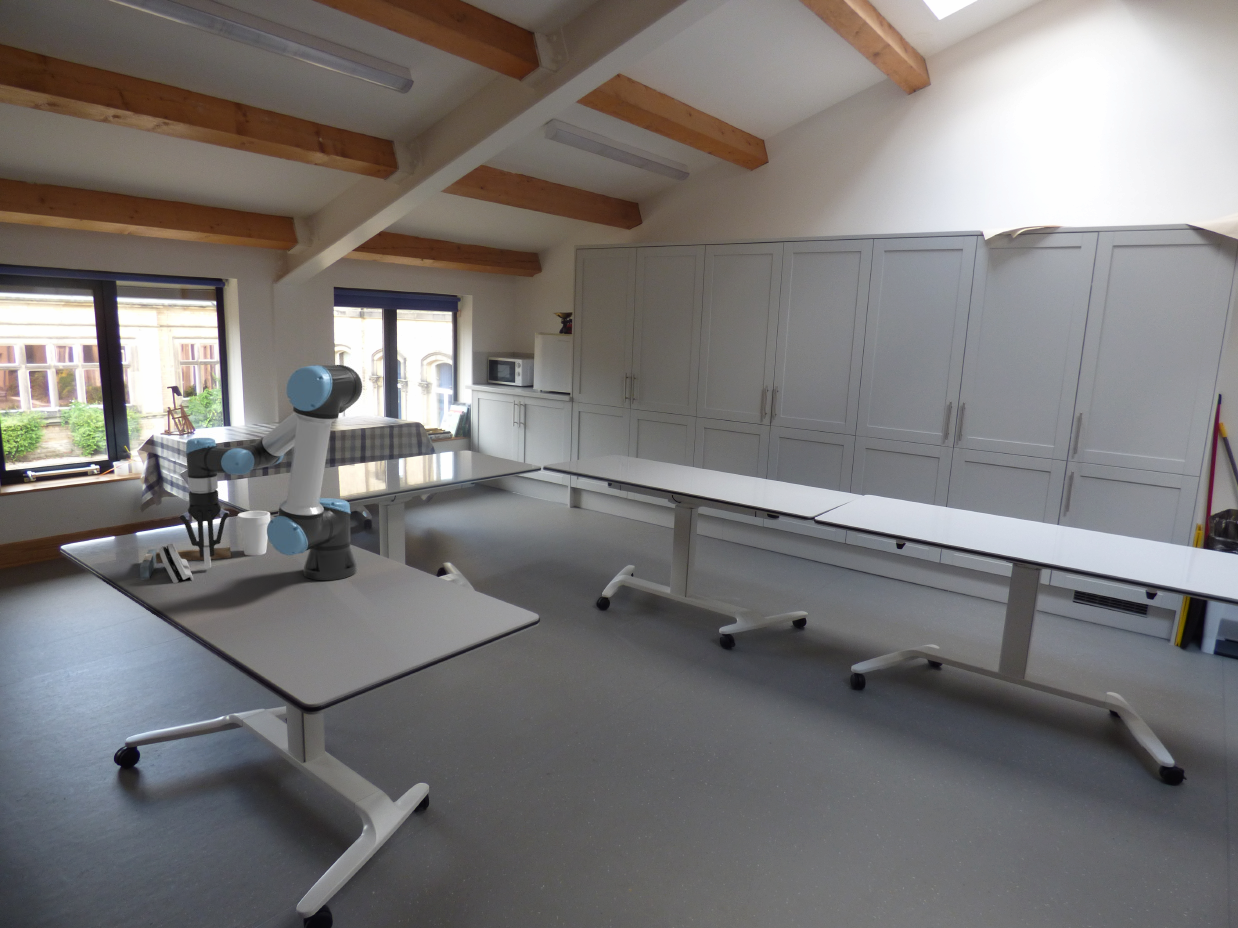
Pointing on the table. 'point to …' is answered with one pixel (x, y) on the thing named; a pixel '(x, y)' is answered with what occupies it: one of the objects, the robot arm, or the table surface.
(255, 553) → the foam cup
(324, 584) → the table surface
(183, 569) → the white piece
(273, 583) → the table surface
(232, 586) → the table surface
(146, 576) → the wooden handled mallet
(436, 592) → the table surface
